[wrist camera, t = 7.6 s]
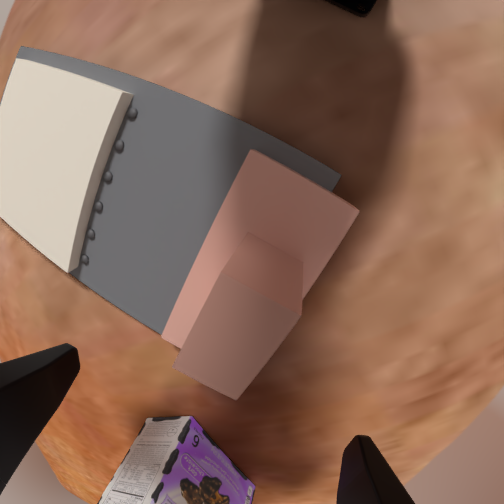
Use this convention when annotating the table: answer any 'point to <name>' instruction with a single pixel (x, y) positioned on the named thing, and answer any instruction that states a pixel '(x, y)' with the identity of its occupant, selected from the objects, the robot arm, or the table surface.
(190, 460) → the candy box
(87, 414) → the table surface
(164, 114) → the mat
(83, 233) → the spiral notepad
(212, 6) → the table surface
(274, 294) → the stub
